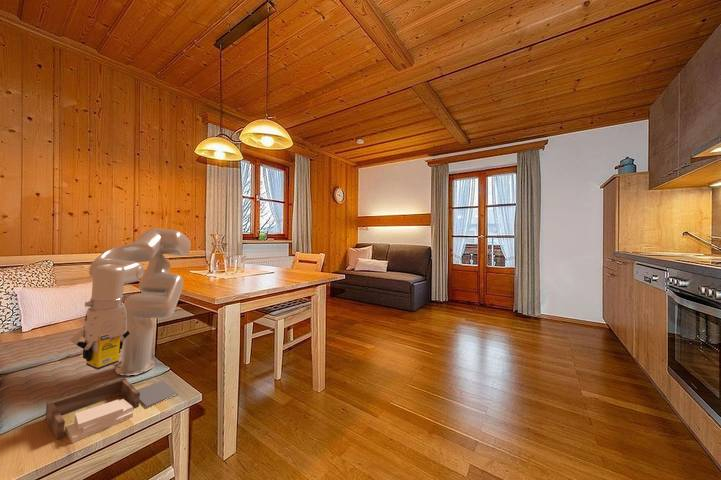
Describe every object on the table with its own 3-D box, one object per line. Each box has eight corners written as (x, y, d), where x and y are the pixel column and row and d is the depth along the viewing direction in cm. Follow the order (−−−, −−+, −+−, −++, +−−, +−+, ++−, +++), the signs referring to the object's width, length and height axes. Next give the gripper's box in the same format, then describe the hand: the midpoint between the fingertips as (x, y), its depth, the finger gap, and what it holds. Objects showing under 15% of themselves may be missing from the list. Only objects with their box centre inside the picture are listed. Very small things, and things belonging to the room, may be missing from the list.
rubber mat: (131, 392, 101) (131, 391, 101) (162, 381, 110) (162, 380, 110) (146, 408, 95) (146, 406, 95) (178, 394, 104) (178, 393, 104)
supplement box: (119, 362, 93) (121, 330, 92) (97, 370, 87) (99, 336, 87) (107, 357, 95) (110, 326, 94) (85, 365, 89) (87, 332, 89)
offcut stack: (64, 430, 82) (65, 415, 82) (124, 406, 94) (125, 393, 94) (72, 443, 78) (73, 428, 78) (133, 417, 90) (135, 403, 90)
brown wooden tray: (45, 418, 85) (46, 403, 85) (123, 391, 101) (124, 377, 101) (57, 440, 79) (58, 423, 78) (138, 406, 95) (139, 392, 95)
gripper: (73, 312, 80) (69, 370, 82) (144, 301, 95) (139, 351, 96) (65, 304, 84) (61, 360, 85) (134, 295, 99) (130, 343, 100)
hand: (102, 355), depth 91 cm, fingers closed on supplement box, 6 cm apart
